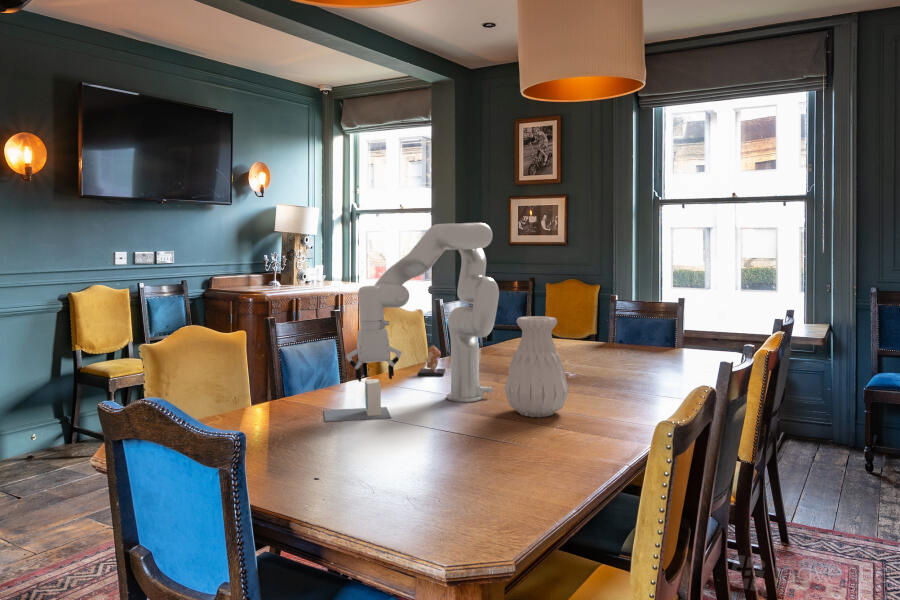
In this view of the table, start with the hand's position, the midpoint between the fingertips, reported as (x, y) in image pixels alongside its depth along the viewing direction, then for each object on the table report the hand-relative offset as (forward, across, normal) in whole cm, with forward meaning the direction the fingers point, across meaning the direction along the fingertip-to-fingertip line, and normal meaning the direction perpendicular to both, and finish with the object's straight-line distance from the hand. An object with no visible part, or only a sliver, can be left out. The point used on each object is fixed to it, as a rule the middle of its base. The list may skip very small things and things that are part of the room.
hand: (375, 379), depth 217 cm
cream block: (+10, +1, +1) cm, 10 cm away
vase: (+13, -49, +11) cm, 52 cm away
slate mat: (+10, +6, +1) cm, 12 cm away
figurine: (+13, -28, -61) cm, 69 cm away
